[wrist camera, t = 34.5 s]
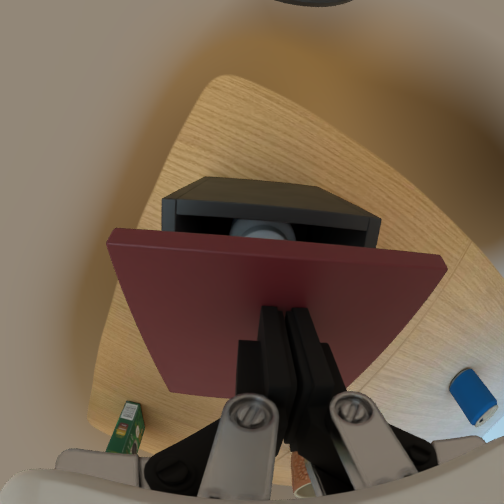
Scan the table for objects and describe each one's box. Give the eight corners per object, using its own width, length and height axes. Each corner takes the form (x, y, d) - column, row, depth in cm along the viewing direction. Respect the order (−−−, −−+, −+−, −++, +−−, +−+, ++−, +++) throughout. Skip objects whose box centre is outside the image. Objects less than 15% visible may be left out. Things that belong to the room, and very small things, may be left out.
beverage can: (442, 390, 40) (468, 430, 29) (461, 365, 38) (491, 404, 27) (457, 390, 41) (482, 427, 30) (475, 367, 39) (504, 403, 28)
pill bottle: (296, 218, 28) (320, 250, 19) (264, 259, 30) (271, 306, 20) (253, 186, 27) (256, 202, 18) (221, 229, 28) (209, 265, 19)
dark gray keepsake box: (204, 176, 27) (161, 198, 13) (317, 186, 28) (382, 218, 14) (200, 289, 31) (171, 382, 18) (301, 296, 32) (333, 389, 18)
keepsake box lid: (113, 226, 8) (104, 243, 8) (440, 254, 9) (449, 269, 8) (171, 381, 17) (169, 392, 17) (333, 389, 18) (335, 399, 17)
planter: (345, 417, 41) (360, 466, 30) (354, 444, 44) (366, 485, 34) (278, 438, 42) (283, 487, 32) (297, 461, 46) (303, 503, 36)
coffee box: (124, 398, 38) (101, 458, 26) (140, 402, 39) (119, 465, 26) (131, 423, 41) (113, 478, 29) (145, 427, 41) (130, 483, 29)
